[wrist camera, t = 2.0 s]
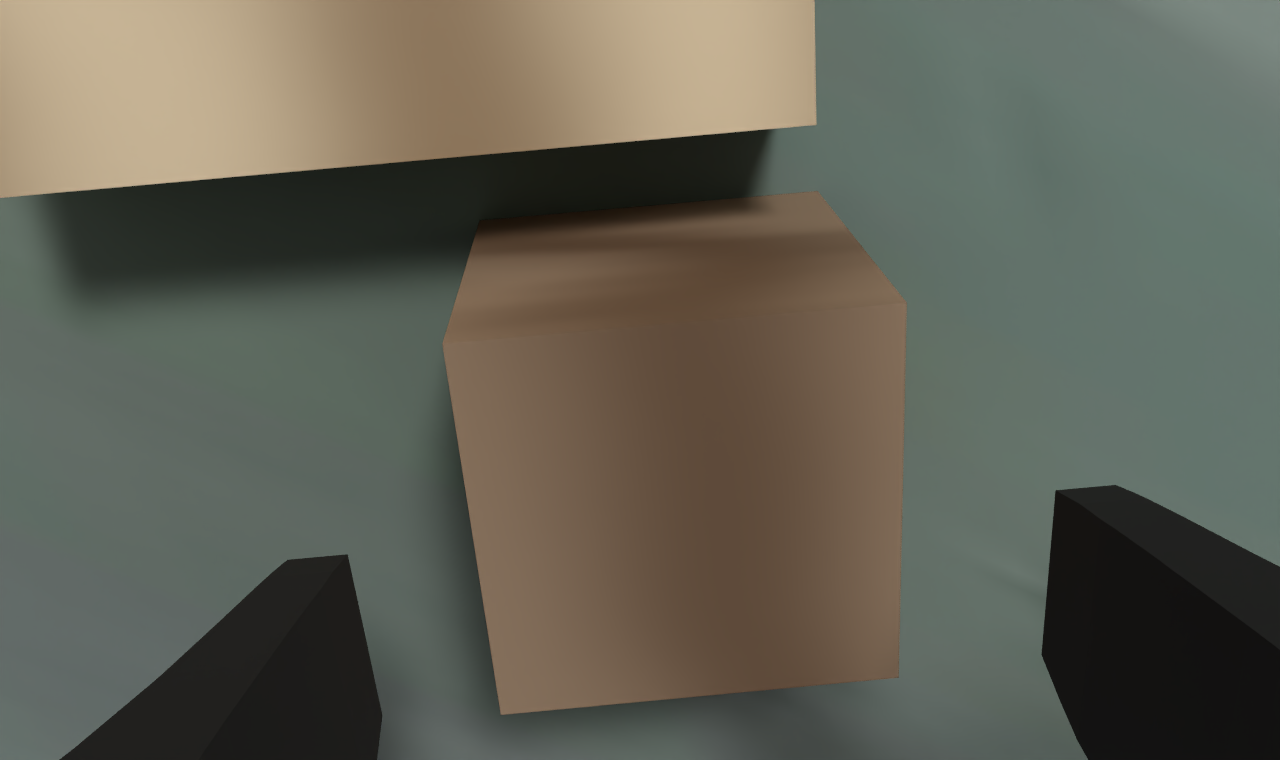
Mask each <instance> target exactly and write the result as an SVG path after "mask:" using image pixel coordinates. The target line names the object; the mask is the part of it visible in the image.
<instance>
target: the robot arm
mask: <svg viewBox="0 0 1280 760" xmlns="http://www.w3.org/2000/svg"><path fill="white" fill-rule="evenodd" d="M1042 657H1043V659H1044V662H1045V664H1046V667H1047V669H1048V672H1049V674H1050V677H1051V679H1052V682H1053V684H1054V687H1055V689H1056V692H1057V694H1058V697H1059V699H1060V702H1061V704H1062V706H1063V709H1064V711H1065V713H1066V715H1067V718H1068V720H1069V722H1070V724H1071V727H1072V729H1073V731H1074V734H1075V736H1076V738H1077V740H1078V742H1079V744H1080V746H1081V748H1082V749H1083V751H1084V753H1085V755H1086V756H1087V758H1088V760H1280V567H1279V566H1277V565H1275V564H1273V563H1271V562H1269V561H1267V560H1265V559H1263V558H1261V557H1259V556H1257V555H1255V554H1254V553H1252V552H1250V551H1248V550H1246V549H1244V548H1242V547H1240V546H1238V545H1236V544H1234V543H1232V542H1230V541H1228V540H1227V539H1225V538H1223V537H1221V536H1219V535H1217V534H1215V533H1213V532H1211V531H1209V530H1207V529H1205V528H1204V527H1202V526H1200V525H1198V524H1196V523H1194V522H1192V521H1190V520H1188V519H1186V518H1184V517H1182V516H1180V515H1178V514H1177V513H1175V512H1173V511H1171V510H1169V509H1167V508H1165V507H1163V506H1161V505H1159V504H1157V503H1155V502H1153V501H1151V500H1148V499H1146V498H1144V497H1142V496H1140V495H1138V494H1136V493H1133V492H1131V491H1129V490H1126V489H1124V488H1121V487H1119V486H1116V485H1111V486H1100V487H1089V488H1078V489H1067V490H1056V492H1055V504H1054V516H1053V528H1052V539H1051V551H1050V563H1049V574H1048V586H1047V598H1046V610H1045V621H1044V633H1043V645H1042ZM381 722H382V712H381V707H380V703H379V698H378V693H377V689H376V684H375V679H374V675H373V670H372V665H371V661H370V656H369V652H368V647H367V642H366V638H365V633H364V628H363V624H362V619H361V614H360V610H359V605H358V601H357V596H356V591H355V587H354V582H353V577H352V573H351V568H350V563H349V559H348V555H337V556H325V557H314V558H303V559H292V560H287V561H286V562H284V563H283V564H282V565H281V566H280V567H278V568H277V569H276V570H275V571H274V572H272V573H271V574H270V575H269V576H268V577H267V578H266V579H265V580H263V581H262V582H261V583H260V584H259V585H258V586H257V587H256V588H255V589H254V590H253V591H252V592H250V593H249V594H248V595H247V596H246V597H245V598H244V599H243V600H242V601H241V602H240V603H239V604H238V605H237V606H236V607H234V608H233V609H232V610H231V611H230V612H229V613H228V614H227V615H226V616H225V617H224V618H223V619H222V620H221V621H220V622H219V623H217V624H216V625H215V626H214V627H213V628H212V629H211V630H210V631H209V632H208V633H207V634H206V635H204V636H203V637H202V638H201V639H200V640H199V641H198V642H197V643H196V644H195V645H194V646H192V647H191V648H190V649H189V650H188V651H187V652H186V653H185V654H184V655H183V656H182V657H180V658H179V659H178V660H177V661H176V662H175V663H174V664H173V665H172V666H171V667H170V668H168V669H167V670H166V671H165V672H164V673H163V674H162V675H161V676H160V677H159V678H157V679H156V680H155V681H154V682H153V683H152V684H150V685H149V686H148V687H147V688H146V689H144V690H143V691H142V692H141V693H140V694H138V695H137V696H136V697H135V698H134V699H133V700H131V701H130V702H129V703H128V704H127V705H125V706H124V707H123V708H122V709H121V710H119V711H118V712H117V713H116V714H115V715H113V716H112V717H111V718H110V719H109V720H107V721H106V722H105V723H104V724H103V725H102V726H100V727H99V728H98V729H97V730H96V731H94V732H93V733H92V734H91V735H90V736H88V737H87V738H86V739H85V740H84V741H82V742H81V743H80V744H79V745H78V746H76V747H75V748H74V749H73V750H71V751H70V752H69V753H68V754H66V755H65V756H64V757H62V758H61V759H60V760H377V754H378V746H379V738H380V730H381Z"/></svg>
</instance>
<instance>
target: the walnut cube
mask: <svg viewBox="0 0 1280 760" xmlns="http://www.w3.org/2000/svg"><path fill="white" fill-rule="evenodd" d="M906 311H907V303H906V301H905V300H904V299H903V298H902V296H901V295H900V294H899V293H898V291H897V290H896V289H895V288H894V286H893V285H892V284H891V283H890V281H889V280H888V279H887V278H886V276H885V275H884V274H883V272H882V271H881V270H880V269H879V267H878V266H877V265H876V264H875V262H874V261H873V260H872V259H871V257H870V256H869V255H868V254H867V252H866V251H865V250H864V249H863V247H862V246H861V245H860V244H859V242H858V241H857V240H856V239H855V237H854V236H853V235H852V234H851V232H850V231H849V230H848V229H847V227H846V226H845V225H844V224H843V222H842V221H841V220H840V219H839V217H838V216H837V215H836V214H835V212H834V211H833V210H832V209H831V207H830V206H829V205H828V204H827V202H826V201H825V200H824V199H823V197H822V196H821V195H820V194H819V192H818V191H813V192H802V193H790V194H779V195H767V196H756V197H744V198H732V199H721V200H709V201H698V202H686V203H675V204H663V205H652V206H640V207H628V208H617V209H605V210H594V211H582V212H571V213H559V214H548V215H536V216H524V217H513V218H501V219H490V220H480V221H479V225H478V228H477V231H476V234H475V238H474V241H473V244H472V248H471V251H470V254H469V258H468V261H467V264H466V268H465V271H464V274H463V277H462V281H461V284H460V287H459V291H458V294H457V297H456V301H455V304H454V307H453V311H452V314H451V317H450V320H449V324H448V327H447V330H446V334H445V337H444V340H443V351H444V357H445V363H446V370H447V376H448V382H449V389H450V395H451V401H452V408H453V414H454V421H455V427H456V433H457V440H458V446H459V452H460V459H461V465H462V471H463V478H464V484H465V490H466V497H467V503H468V509H469V516H470V522H471V528H472V535H473V541H474V547H475V554H476V560H477V566H478V573H479V579H480V586H481V592H482V598H483V605H484V611H485V617H486V624H487V630H488V636H489V643H490V649H491V655H492V662H493V668H494V674H495V681H496V687H497V693H498V700H499V706H500V712H501V715H505V714H515V713H526V712H537V711H547V710H558V709H569V708H579V707H590V706H601V705H611V704H622V703H633V702H643V701H654V700H665V699H675V698H686V697H697V696H708V695H718V694H729V693H740V692H750V691H761V690H772V689H782V688H793V687H804V686H814V685H825V684H836V683H846V682H857V681H868V680H878V679H889V678H899V634H900V588H901V542H902V496H903V450H904V404H905V358H906Z"/></svg>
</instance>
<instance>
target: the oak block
mask: <svg viewBox="0 0 1280 760" xmlns="http://www.w3.org/2000/svg"><path fill="white" fill-rule="evenodd" d="M809 125H816V75H815V9H814V0H0V198H3V197H15V196H26V195H37V194H48V193H59V192H71V191H82V190H93V189H104V188H115V187H127V186H138V185H149V184H160V183H171V182H182V181H194V180H205V179H216V178H227V177H238V176H250V175H261V174H272V173H283V172H294V171H305V170H317V169H328V168H339V167H350V166H361V165H373V164H384V163H395V162H406V161H417V160H429V159H440V158H451V157H462V156H473V155H484V154H496V153H507V152H518V151H529V150H540V149H552V148H563V147H574V146H585V145H596V144H608V143H619V142H630V141H641V140H652V139H663V138H675V137H686V136H697V135H708V134H719V133H731V132H742V131H753V130H764V129H775V128H786V127H798V126H809Z"/></svg>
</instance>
